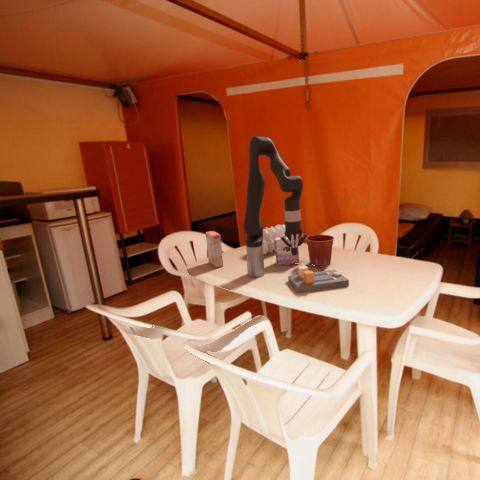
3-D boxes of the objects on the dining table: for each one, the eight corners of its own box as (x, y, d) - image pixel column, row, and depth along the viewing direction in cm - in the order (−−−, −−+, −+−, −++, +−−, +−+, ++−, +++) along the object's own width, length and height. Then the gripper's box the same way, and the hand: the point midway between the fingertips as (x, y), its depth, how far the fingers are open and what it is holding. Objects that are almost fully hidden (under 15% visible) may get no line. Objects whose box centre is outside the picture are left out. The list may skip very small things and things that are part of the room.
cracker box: (223, 266, 205) (220, 234, 200) (214, 268, 203) (211, 235, 198) (217, 260, 218) (214, 230, 213) (208, 262, 216) (205, 231, 210)
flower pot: (334, 259, 202) (334, 234, 198) (334, 268, 186) (334, 241, 182) (307, 259, 206) (306, 234, 202) (305, 268, 191) (304, 241, 187)
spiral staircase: (255, 260, 226) (279, 249, 241) (270, 253, 212) (295, 243, 227) (244, 235, 227) (269, 227, 242) (259, 227, 213) (285, 219, 228)
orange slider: (306, 283, 160) (306, 274, 159) (303, 280, 164) (303, 271, 163) (314, 282, 161) (314, 273, 159) (311, 279, 164) (311, 270, 163)
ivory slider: (301, 278, 168) (300, 268, 166) (298, 275, 172) (298, 266, 170) (308, 277, 168) (308, 267, 167) (305, 274, 172) (305, 265, 171)
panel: (298, 292, 158) (297, 285, 157) (288, 281, 174) (288, 274, 173) (348, 285, 162) (348, 278, 161) (334, 274, 177) (334, 267, 176)
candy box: (298, 261, 204) (297, 235, 200) (299, 264, 198) (298, 238, 194) (276, 262, 205) (274, 236, 201) (276, 265, 199) (274, 239, 195)
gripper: (303, 216, 158) (304, 251, 162) (277, 219, 156) (279, 254, 160) (309, 219, 151) (310, 255, 155) (281, 222, 149) (283, 258, 153)
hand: (294, 254), depth 158 cm, fingers closed
